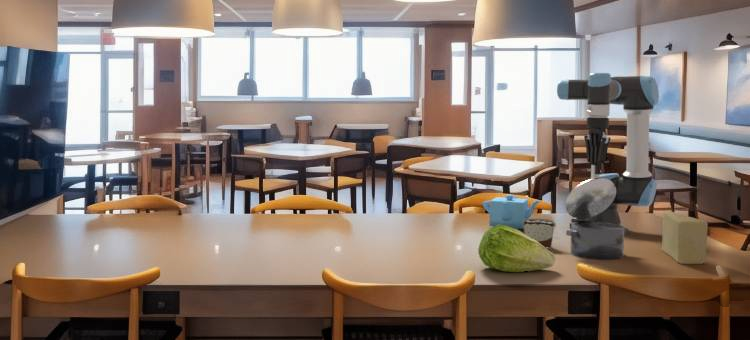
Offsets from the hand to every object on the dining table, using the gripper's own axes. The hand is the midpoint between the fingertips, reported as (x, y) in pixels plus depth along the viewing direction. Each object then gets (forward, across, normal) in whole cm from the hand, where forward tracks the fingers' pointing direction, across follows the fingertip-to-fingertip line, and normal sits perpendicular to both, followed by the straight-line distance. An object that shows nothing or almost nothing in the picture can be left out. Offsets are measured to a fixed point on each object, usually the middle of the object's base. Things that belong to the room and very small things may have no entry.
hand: (595, 182), depth 252 cm
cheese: (+26, +14, +25) cm, 38 cm away
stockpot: (+25, +2, 0) cm, 25 cm away
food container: (+26, -15, -13) cm, 33 cm away
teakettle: (+26, -48, -8) cm, 55 cm away
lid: (+7, -2, 0) cm, 8 cm away
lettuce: (+25, +17, -39) cm, 49 cm away
